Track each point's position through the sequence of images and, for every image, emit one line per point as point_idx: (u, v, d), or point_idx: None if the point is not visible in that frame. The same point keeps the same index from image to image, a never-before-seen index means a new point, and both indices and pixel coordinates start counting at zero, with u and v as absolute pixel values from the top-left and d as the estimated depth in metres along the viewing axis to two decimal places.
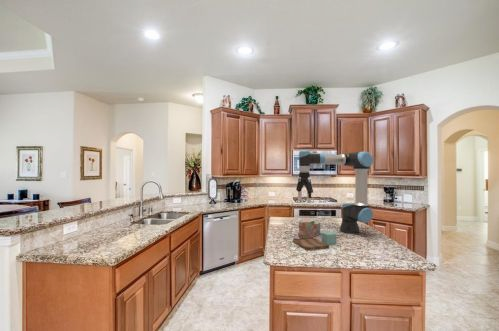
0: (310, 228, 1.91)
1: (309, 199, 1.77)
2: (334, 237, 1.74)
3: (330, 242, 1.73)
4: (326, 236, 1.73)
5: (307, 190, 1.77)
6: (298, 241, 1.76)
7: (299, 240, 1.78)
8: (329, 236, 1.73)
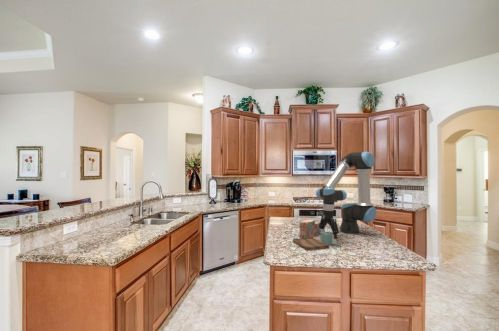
0: (311, 228, 1.91)
1: (334, 240, 1.70)
2: None
3: (330, 242, 1.73)
4: (326, 236, 1.73)
5: (332, 230, 1.70)
6: (298, 241, 1.76)
7: (299, 240, 1.78)
8: (329, 236, 1.73)
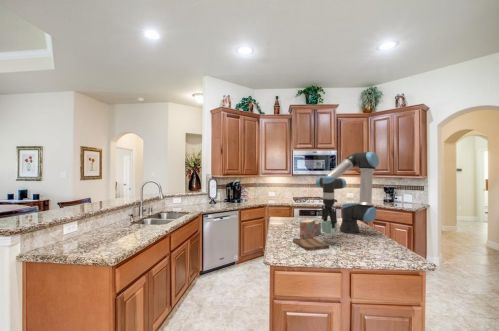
0: (311, 228, 1.91)
1: (333, 229, 1.73)
2: None
3: None
4: (327, 225, 1.74)
5: (331, 220, 1.73)
6: (298, 241, 1.76)
7: (299, 240, 1.78)
8: (329, 225, 1.74)
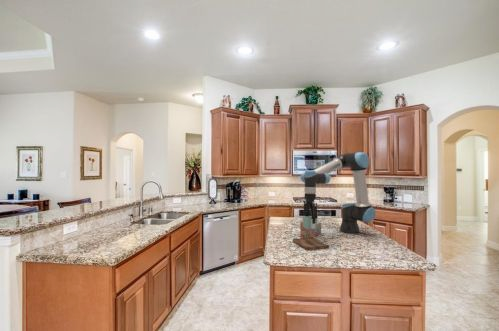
0: None
1: (313, 225, 1.69)
2: (315, 221, 1.70)
3: None
4: (307, 220, 1.69)
5: (311, 215, 1.69)
6: (298, 241, 1.76)
7: (299, 240, 1.78)
8: (310, 220, 1.69)
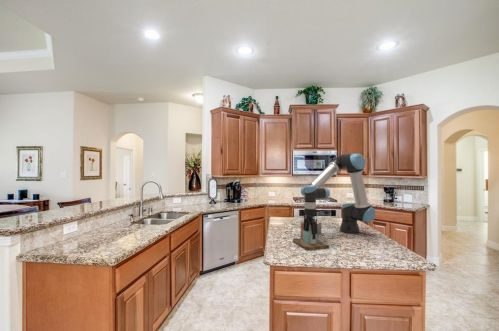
0: None
1: (313, 240, 1.69)
2: (315, 236, 1.70)
3: None
4: (307, 235, 1.69)
5: (311, 230, 1.69)
6: (298, 241, 1.76)
7: (299, 240, 1.78)
8: (310, 235, 1.69)
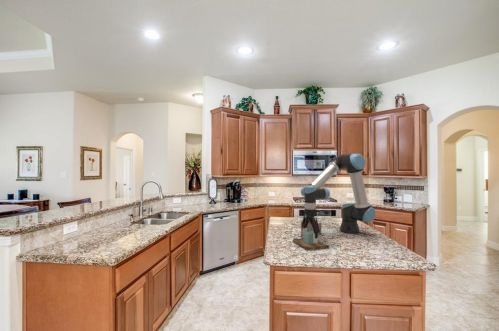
0: (312, 228, 1.92)
1: (315, 239, 1.66)
2: None
3: (311, 241, 1.69)
4: (307, 235, 1.69)
5: (313, 229, 1.66)
6: (298, 241, 1.76)
7: (299, 240, 1.78)
8: (310, 235, 1.69)
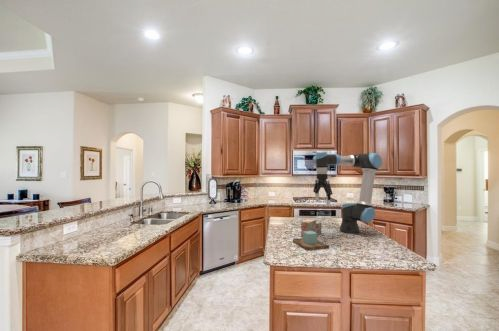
0: (312, 228, 1.92)
1: (328, 201, 1.75)
2: (315, 236, 1.70)
3: (311, 241, 1.69)
4: (307, 235, 1.69)
5: (326, 192, 1.75)
6: (298, 241, 1.76)
7: (299, 240, 1.78)
8: (310, 235, 1.69)
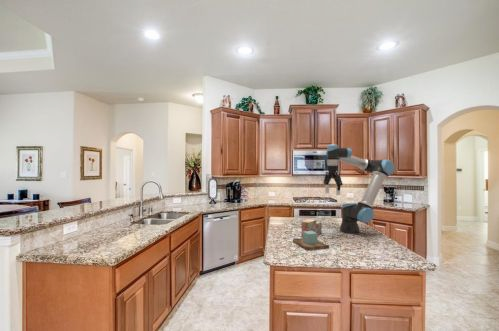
0: (312, 227, 1.92)
1: (338, 191, 1.83)
2: (315, 236, 1.70)
3: (311, 241, 1.69)
4: (307, 235, 1.69)
5: (336, 183, 1.83)
6: (298, 241, 1.76)
7: (299, 240, 1.78)
8: (310, 235, 1.69)
